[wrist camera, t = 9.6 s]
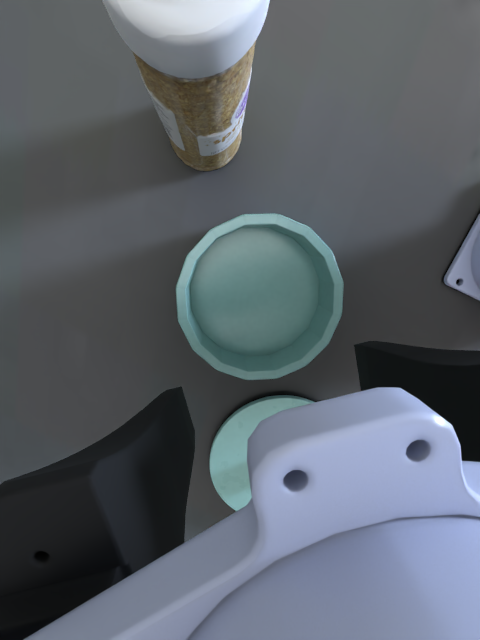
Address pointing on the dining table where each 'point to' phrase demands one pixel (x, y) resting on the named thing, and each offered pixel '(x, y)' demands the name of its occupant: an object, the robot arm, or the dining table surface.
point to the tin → (259, 296)
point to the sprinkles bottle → (194, 68)
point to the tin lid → (242, 447)
